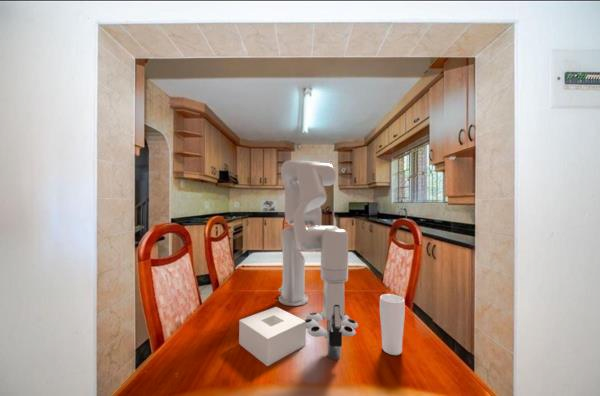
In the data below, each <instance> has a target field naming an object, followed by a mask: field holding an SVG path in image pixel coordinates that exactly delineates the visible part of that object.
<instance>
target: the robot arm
mask: <svg viewBox="0 0 600 396" xmlns="http://www.w3.org/2000/svg"><path fill="white" fill-rule="evenodd" d="M280 170H281V171H280V173H281V180H282V184H283V187H284V219H285V221H286V222H287V223H288V224H292V225H293V226H288V227H285V228H283V229H282V230H281V233H280V240H281V241H280V243H281V248H282V285H281V286H280V287H279V288H278V289H277V291H278V292H280V293H281V294H280V295H279V296H278V302H279V303H280V304H282V305H284V306H290V307H298V306H302V305H305V304H307V303H308V302H309V297H308V295H307V294H305V288H306V287H305V285H306V284H305V283H306V280H305V277H306V275H305V272H306V271H305V269H306V265H305V263H306V261H305V260H306V259H305V256H304V255H303V253H302V252H301V251H303V252H316V251H320V280H322V281H323V292H322V293H323V295H322V296H323V298H322V308H323V310H322V311H324V315H325V320H326V330H327V329H328V320H330V329H331V330H329V345H330V346H337V347H342V346H343V336H342V330H341V327H342V325H341V320H343V319H344V314H345V282H347V281H349V233H348V231H347V230H345V229H344V228H339V227H338V226H336V225H323V224H322V214H323V213H322V209H321V207H322V206H323V205H324V204H325V203H326V201H327V200H328V199H327V198H328V197H327V193H326V189H325V186H326V187H330V186H332V185H334V184H335V182H336V179H337V174H336V173H337V172H336V170H335V167H334V166H333V165H332V164H331V163H329V162H328V163H327V162H323V161H314V160H303V159H302V160H301V159H299V160H298V159H297V160H296V159H292V160H291V159H289V160H286V161H284V162H283V163H282V165H281V169H280ZM306 224H308V225H306ZM300 250H301V251H300ZM332 316H334V318H332ZM333 321H335V324H333Z"/></svg>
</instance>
